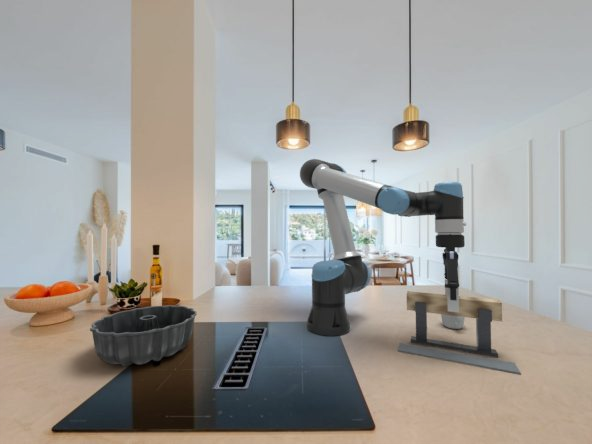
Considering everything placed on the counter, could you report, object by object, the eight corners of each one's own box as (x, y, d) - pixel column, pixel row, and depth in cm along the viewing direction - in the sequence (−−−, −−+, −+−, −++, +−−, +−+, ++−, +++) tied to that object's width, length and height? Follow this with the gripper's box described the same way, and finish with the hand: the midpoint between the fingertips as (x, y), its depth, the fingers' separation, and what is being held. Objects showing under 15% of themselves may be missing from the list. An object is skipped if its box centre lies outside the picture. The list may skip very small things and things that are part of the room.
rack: (410, 345, 82) (409, 301, 82) (411, 336, 88) (411, 296, 89) (499, 360, 72) (498, 311, 73) (494, 350, 79) (493, 305, 79)
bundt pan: (106, 340, 85) (107, 308, 85) (195, 330, 94) (196, 301, 95) (70, 385, 60) (72, 340, 61) (196, 365, 70) (197, 326, 70)
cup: (473, 334, 90) (472, 310, 91) (447, 333, 92) (446, 309, 92) (460, 323, 101) (460, 302, 101) (437, 322, 102) (437, 301, 103)
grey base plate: (397, 351, 78) (397, 349, 78) (399, 344, 83) (399, 342, 83) (521, 374, 65) (520, 372, 65) (514, 364, 70) (514, 362, 70)
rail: (406, 309, 84) (406, 293, 84) (407, 306, 88) (407, 291, 88) (502, 321, 73) (501, 303, 74) (498, 317, 77) (498, 299, 77)
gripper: (469, 234, 69) (472, 319, 68) (460, 233, 91) (462, 297, 90) (436, 234, 72) (438, 315, 71) (434, 233, 94) (436, 295, 93)
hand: (451, 305), depth 80 cm, fingers open, 13 cm apart
